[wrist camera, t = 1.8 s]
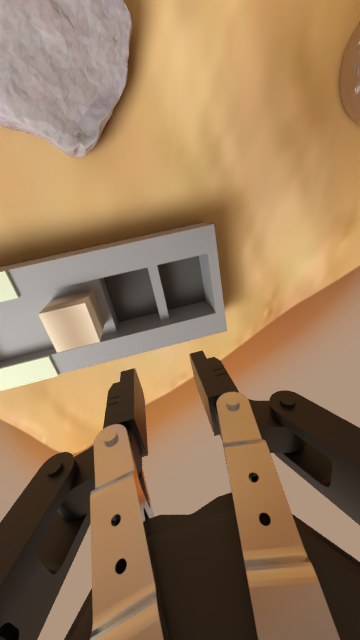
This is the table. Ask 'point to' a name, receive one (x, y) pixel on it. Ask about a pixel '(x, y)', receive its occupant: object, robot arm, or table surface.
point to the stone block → (62, 68)
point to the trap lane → (112, 300)
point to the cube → (73, 321)
